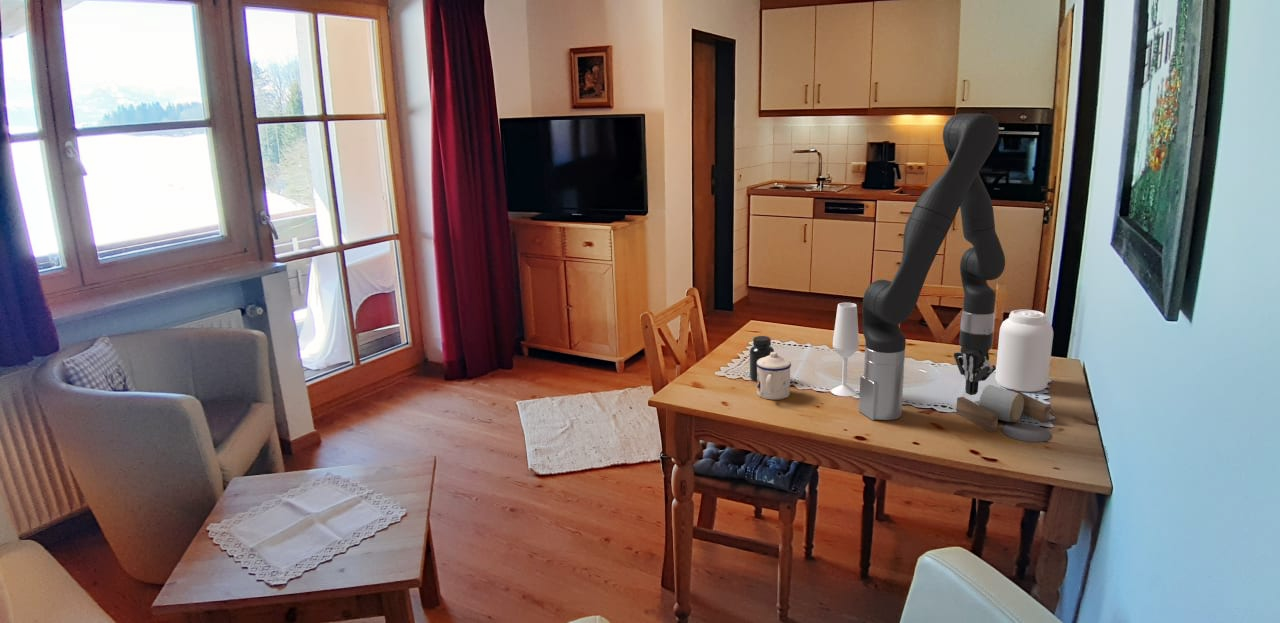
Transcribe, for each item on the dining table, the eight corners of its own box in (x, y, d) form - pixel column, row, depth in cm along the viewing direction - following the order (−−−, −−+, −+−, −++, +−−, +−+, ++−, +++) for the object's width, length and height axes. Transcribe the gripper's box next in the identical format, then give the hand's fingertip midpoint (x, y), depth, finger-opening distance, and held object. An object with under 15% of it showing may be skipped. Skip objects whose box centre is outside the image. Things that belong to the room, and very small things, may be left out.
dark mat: (1024, 444, 164) (1024, 444, 164) (992, 427, 174) (992, 426, 174) (1061, 438, 167) (1061, 437, 167) (1027, 421, 176) (1027, 420, 176)
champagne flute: (843, 385, 203) (846, 300, 197) (862, 392, 197) (866, 305, 191) (825, 390, 200) (828, 304, 193) (844, 398, 194) (848, 309, 188)
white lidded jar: (1053, 382, 199) (1061, 311, 194) (1038, 396, 190) (1047, 321, 185) (1004, 373, 208) (1010, 303, 202) (987, 385, 199) (994, 313, 194)
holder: (990, 432, 171) (992, 416, 170) (956, 412, 183) (957, 397, 182) (1048, 422, 175) (1050, 406, 174) (1011, 403, 187) (1012, 388, 186)
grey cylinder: (1012, 427, 172) (1015, 396, 171) (976, 419, 178) (979, 388, 176) (1029, 415, 180) (1031, 384, 178) (994, 407, 185) (996, 377, 184)
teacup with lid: (759, 386, 204) (760, 346, 201) (793, 389, 201) (793, 348, 198) (750, 402, 194) (750, 360, 191) (785, 406, 190) (786, 363, 187)
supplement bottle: (748, 374, 214) (748, 334, 211) (772, 374, 213) (772, 334, 210) (750, 383, 207) (751, 342, 204) (775, 382, 207) (776, 341, 204)
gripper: (946, 323, 189) (941, 387, 194) (982, 337, 177) (976, 405, 182) (971, 320, 191) (965, 383, 196) (1009, 334, 179) (1002, 401, 183)
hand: (971, 393), depth 189 cm, fingers closed
